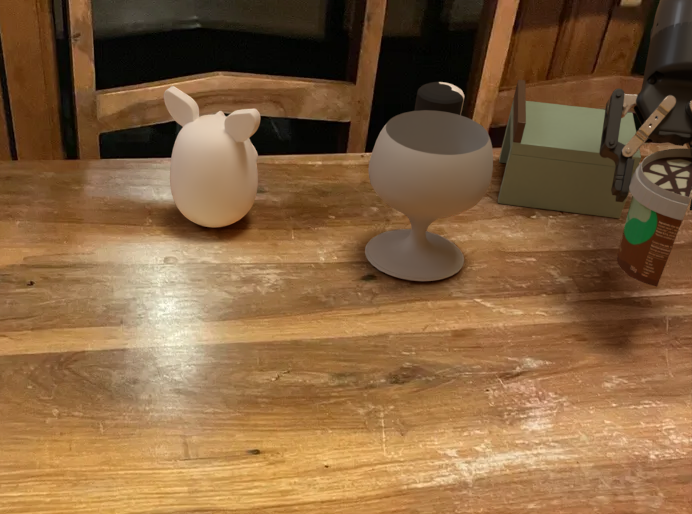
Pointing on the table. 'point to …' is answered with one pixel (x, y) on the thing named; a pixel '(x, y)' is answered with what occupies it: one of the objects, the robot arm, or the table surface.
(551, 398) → the table surface
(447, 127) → the chalice
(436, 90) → the medicine bottle
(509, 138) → the sage green lidded box
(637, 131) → the robot arm
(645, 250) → the food container
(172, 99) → the piggy bank
